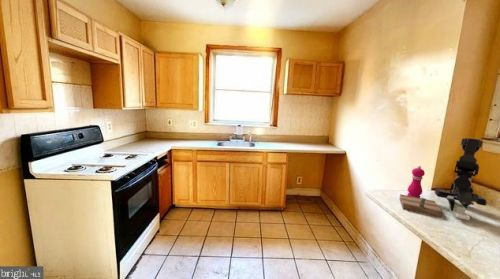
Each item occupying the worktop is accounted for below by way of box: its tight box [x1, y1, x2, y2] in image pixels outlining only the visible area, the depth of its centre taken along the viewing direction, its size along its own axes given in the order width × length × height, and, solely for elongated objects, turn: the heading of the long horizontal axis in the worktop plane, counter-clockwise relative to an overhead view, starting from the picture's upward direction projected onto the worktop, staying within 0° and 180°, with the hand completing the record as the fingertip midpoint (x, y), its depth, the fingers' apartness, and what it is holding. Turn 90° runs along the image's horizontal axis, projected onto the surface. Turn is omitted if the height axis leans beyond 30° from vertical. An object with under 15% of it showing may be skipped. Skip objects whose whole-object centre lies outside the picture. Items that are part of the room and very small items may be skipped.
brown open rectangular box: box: [399, 194, 443, 218], centre depth 118 cm, size 14×16×8 cm
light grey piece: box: [448, 200, 471, 221], centre depth 111 cm, size 14×4×6 cm, turn 152°
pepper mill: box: [406, 165, 425, 198], centre depth 130 cm, size 7×7×20 cm
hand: (455, 211), depth 113 cm, fingers closed on light grey piece, 3 cm apart
